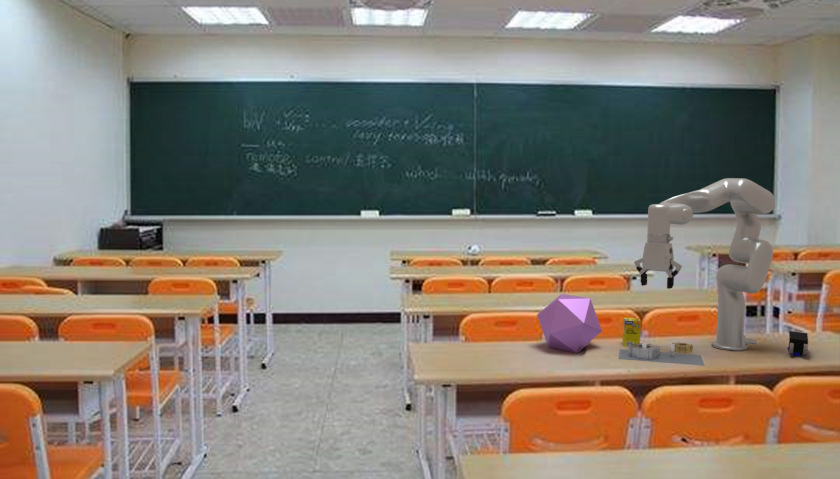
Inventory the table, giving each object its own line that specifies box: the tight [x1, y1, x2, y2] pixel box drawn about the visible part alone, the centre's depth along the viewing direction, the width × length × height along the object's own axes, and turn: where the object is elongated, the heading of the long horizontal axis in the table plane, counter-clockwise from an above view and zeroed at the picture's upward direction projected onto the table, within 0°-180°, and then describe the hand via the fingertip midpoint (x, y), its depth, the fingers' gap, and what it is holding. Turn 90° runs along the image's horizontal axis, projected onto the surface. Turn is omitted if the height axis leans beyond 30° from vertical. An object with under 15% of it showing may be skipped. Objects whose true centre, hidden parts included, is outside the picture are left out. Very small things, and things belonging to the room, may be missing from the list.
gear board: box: [618, 342, 705, 367], centre depth 256 cm, size 28×15×6 cm, turn 73°
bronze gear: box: [671, 341, 694, 354], centre depth 266 cm, size 7×7×4 cm
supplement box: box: [622, 317, 642, 347], centre depth 274 cm, size 6×6×11 cm
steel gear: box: [628, 342, 661, 360], centre depth 257 cm, size 10×10×4 cm
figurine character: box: [787, 330, 809, 359], centre depth 266 cm, size 7×8×15 cm
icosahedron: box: [536, 293, 603, 354], centre depth 272 cm, size 22×21×24 cm
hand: (656, 286), depth 259 cm, fingers open, 9 cm apart
